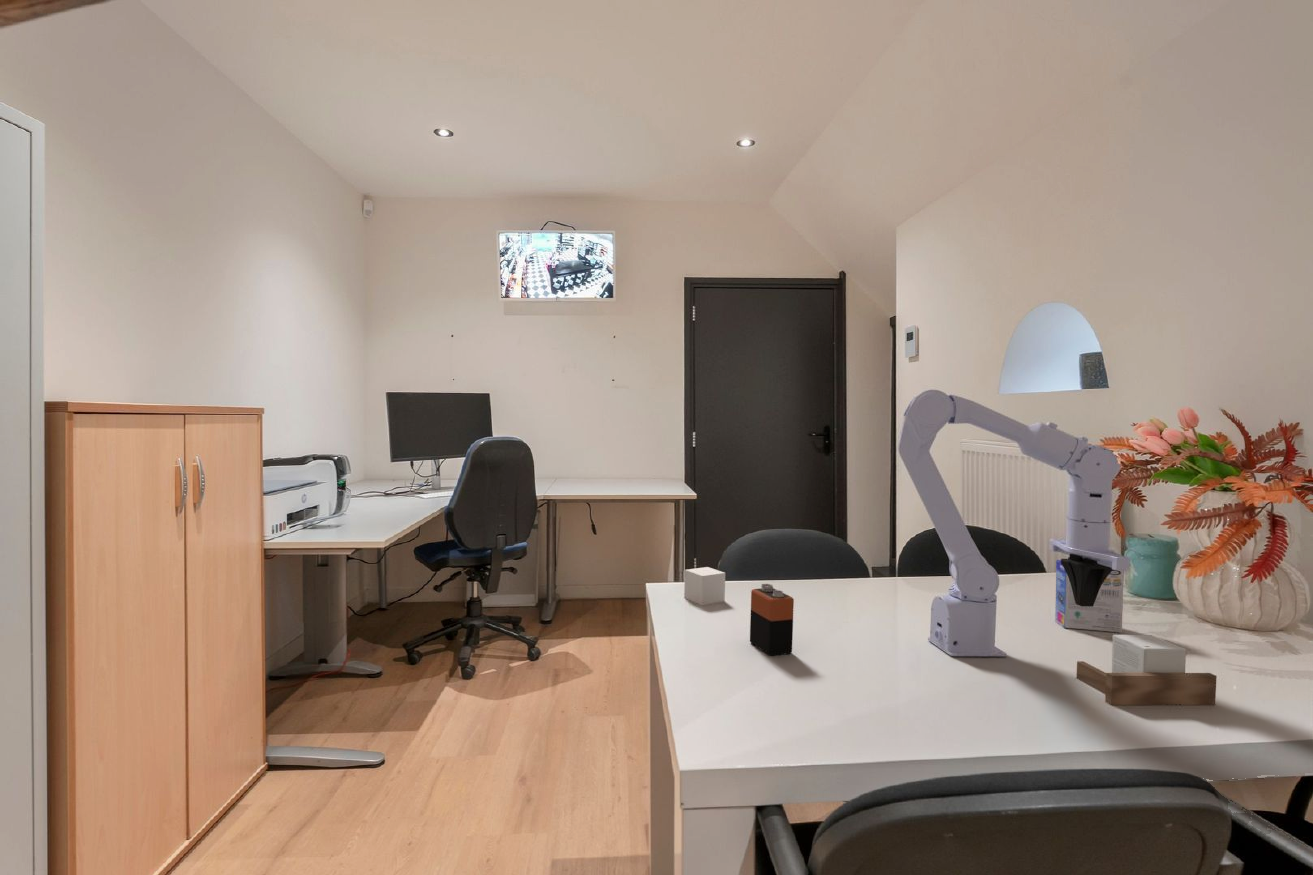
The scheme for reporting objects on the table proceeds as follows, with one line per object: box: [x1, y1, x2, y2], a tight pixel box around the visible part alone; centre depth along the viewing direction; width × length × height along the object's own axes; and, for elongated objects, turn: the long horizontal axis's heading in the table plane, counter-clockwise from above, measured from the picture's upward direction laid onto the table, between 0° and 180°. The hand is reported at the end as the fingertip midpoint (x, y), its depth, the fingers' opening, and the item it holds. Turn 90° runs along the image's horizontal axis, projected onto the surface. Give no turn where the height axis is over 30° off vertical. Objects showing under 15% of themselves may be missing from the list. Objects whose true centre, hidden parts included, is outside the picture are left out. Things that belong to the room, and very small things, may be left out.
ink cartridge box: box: [1054, 559, 1125, 633], centre depth 119 cm, size 10×6×14 cm, turn 78°
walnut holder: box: [1075, 660, 1218, 706], centre depth 90 cm, size 15×9×4 cm, turn 94°
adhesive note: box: [683, 566, 726, 606], centre depth 131 cm, size 6×6×6 cm
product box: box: [1111, 634, 1187, 673], centre depth 90 cm, size 6×6×7 cm
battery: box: [749, 583, 795, 656], centre depth 103 cm, size 4×7×10 cm, turn 21°
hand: (1084, 605), depth 100 cm, fingers closed
